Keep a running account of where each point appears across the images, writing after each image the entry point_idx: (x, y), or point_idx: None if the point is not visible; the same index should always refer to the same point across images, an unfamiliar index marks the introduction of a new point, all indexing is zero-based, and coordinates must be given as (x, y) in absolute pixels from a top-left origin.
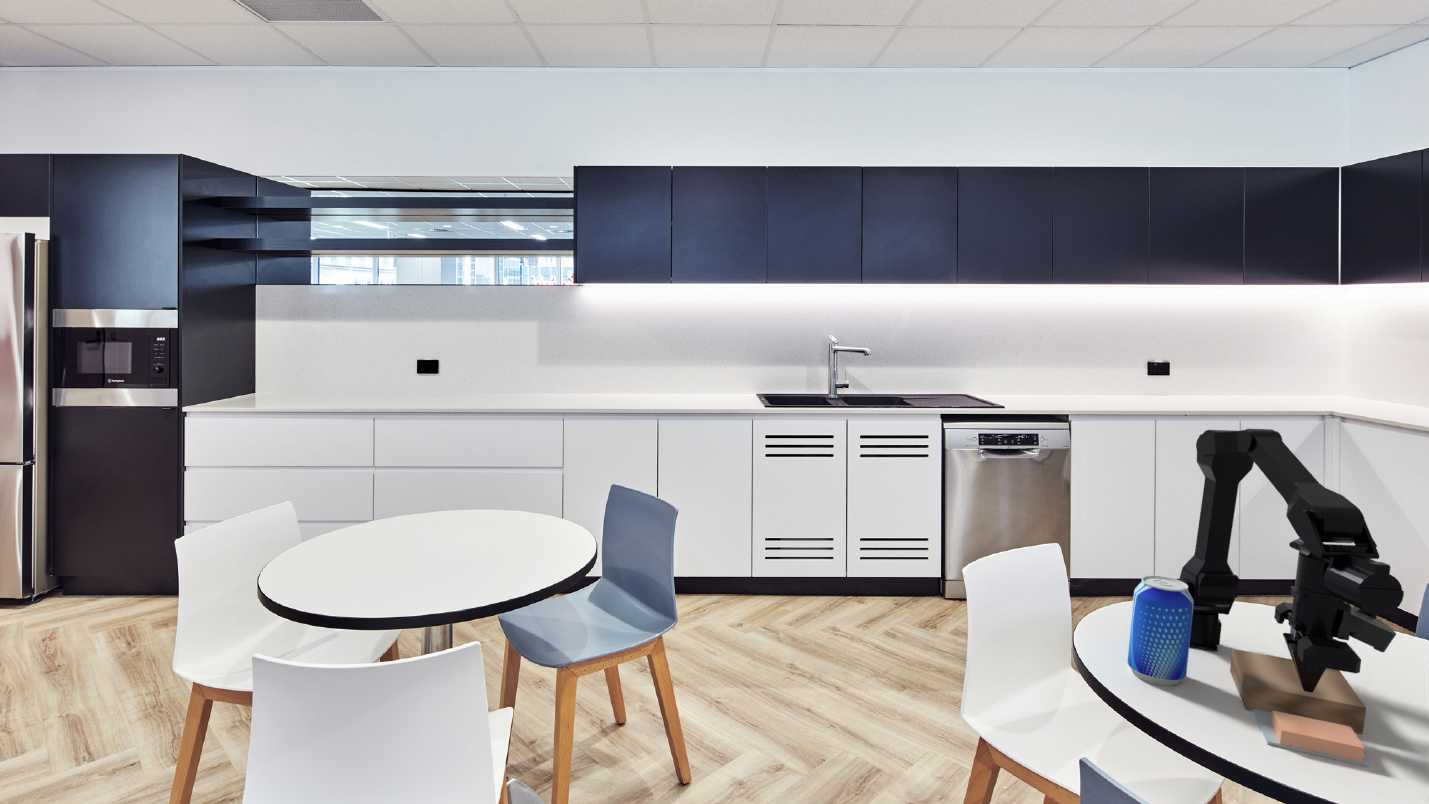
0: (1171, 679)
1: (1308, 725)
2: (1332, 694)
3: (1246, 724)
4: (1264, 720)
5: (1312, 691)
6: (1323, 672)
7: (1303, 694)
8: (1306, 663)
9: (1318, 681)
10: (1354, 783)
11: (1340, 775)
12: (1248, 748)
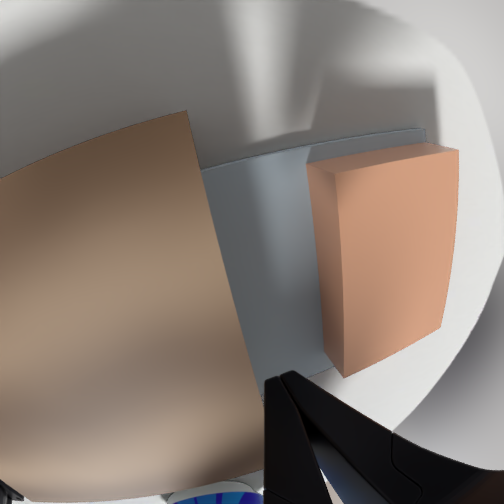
0: (256, 494)
1: (395, 292)
2: (116, 286)
3: (340, 376)
4: (314, 364)
5: (294, 373)
6: (413, 443)
7: (244, 375)
8: None
9: (349, 407)
10: (481, 170)
11: (469, 192)
12: (433, 336)
